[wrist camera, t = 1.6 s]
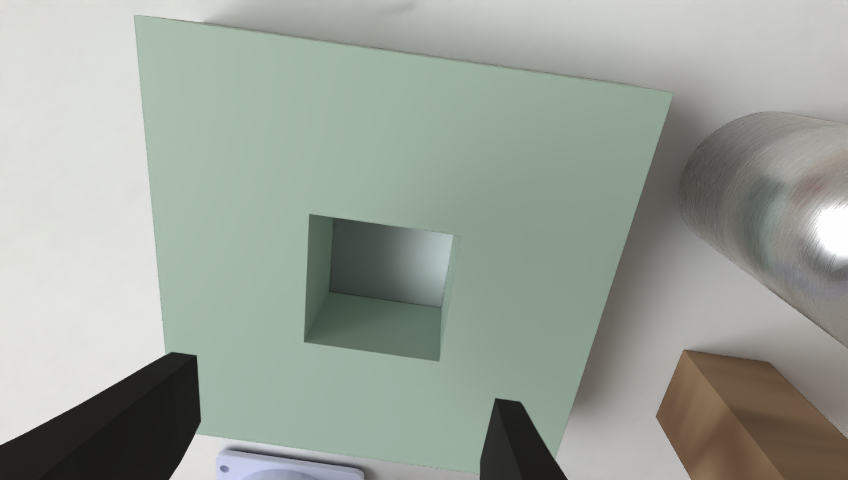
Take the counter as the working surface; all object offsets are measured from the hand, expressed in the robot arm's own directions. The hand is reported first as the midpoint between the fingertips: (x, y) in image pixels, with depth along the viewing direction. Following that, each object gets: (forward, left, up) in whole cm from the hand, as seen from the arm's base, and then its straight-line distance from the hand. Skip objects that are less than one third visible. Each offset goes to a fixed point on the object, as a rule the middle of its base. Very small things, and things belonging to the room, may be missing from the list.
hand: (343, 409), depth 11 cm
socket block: (0, 0, -10) cm, 10 cm away
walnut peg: (-5, -16, -10) cm, 19 cm away
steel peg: (+5, -14, -10) cm, 18 cm away
